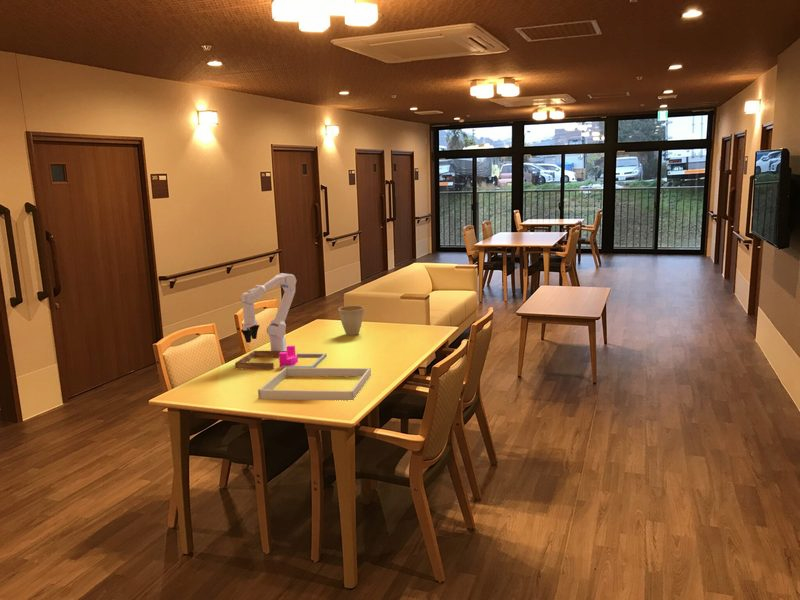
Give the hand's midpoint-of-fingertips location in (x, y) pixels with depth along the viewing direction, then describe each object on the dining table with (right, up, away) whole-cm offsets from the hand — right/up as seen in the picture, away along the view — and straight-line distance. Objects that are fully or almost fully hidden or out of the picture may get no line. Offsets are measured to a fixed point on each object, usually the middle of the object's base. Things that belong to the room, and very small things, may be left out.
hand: (251, 340), depth 335 cm
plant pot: (+50, +1, +47) cm, 68 cm away
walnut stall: (+7, -11, -4) cm, 14 cm away
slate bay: (+29, -11, -8) cm, 32 cm away
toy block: (+22, -12, -8) cm, 26 cm away
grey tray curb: (+41, -18, -48) cm, 66 cm away
